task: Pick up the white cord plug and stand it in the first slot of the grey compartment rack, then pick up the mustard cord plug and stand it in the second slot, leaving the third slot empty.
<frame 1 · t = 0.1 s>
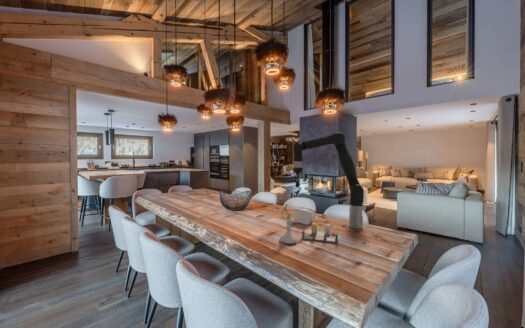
hand: (297, 186, 187), 29 cm above the table, fingers open, 8 cm apart
white tapered rounded piece: (288, 242, 144), on the table
plug mustard: (314, 233, 160), on the table
plug white: (327, 234, 159), on the table
grey compartment rack: (319, 240, 148), on the table
cable organizer: (304, 222, 186), on the table
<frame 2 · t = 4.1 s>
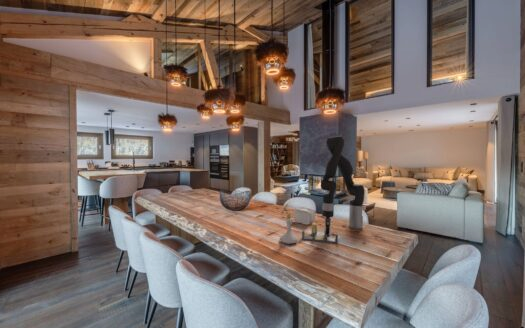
hand: (327, 233, 159), 1 cm above the table, fingers closed on plug white, 3 cm apart
plug white: (327, 234, 159), on the table, touching gripper
everything else where it was.
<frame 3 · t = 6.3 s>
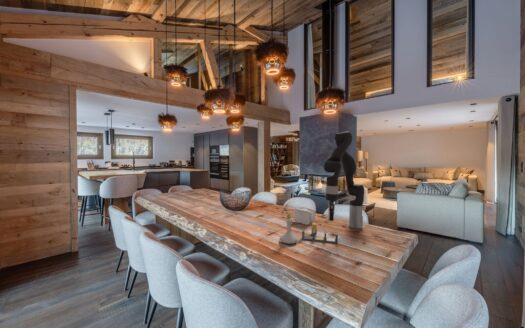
hand: (331, 219, 146), 14 cm above the table, fingers closed on plug white, 3 cm apart
plug white: (331, 220, 146), point 14 cm above the table, touching gripper
everything else where it was.
when the fingers open (3 cm above the table, at t = 8.5 s): plug white drops 1 cm, resting on grey compartment rack.
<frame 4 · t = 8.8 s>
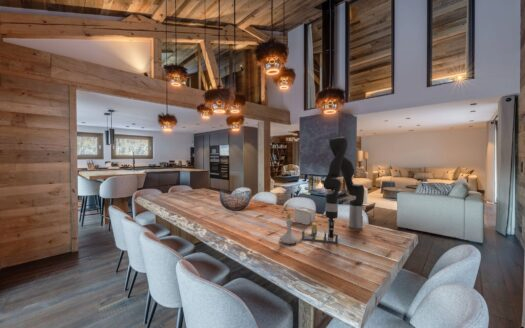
hand: (330, 235, 146), 4 cm above the table, fingers open, 6 cm apart
plug white: (330, 239, 147), point 1 cm above the table, touching grey compartment rack
everything else where it was.
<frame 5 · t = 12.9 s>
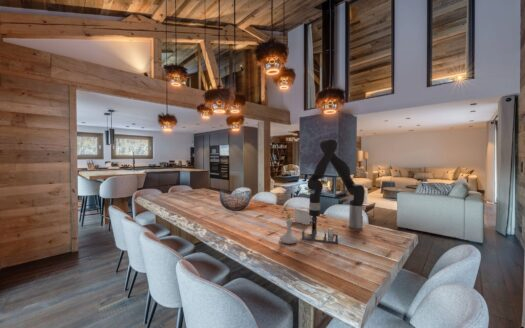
hand: (314, 232, 160), 1 cm above the table, fingers closed on plug mustard, 3 cm apart
plug mustard: (314, 233, 160), on the table, touching gripper
everything else where it was.
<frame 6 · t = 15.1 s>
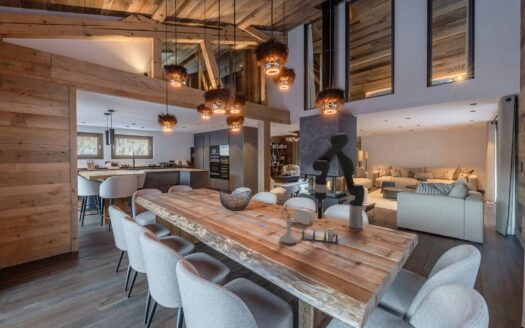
hand: (320, 217, 148), 15 cm above the table, fingers closed on plug mustard, 3 cm apart
plug mustard: (319, 218, 148), point 14 cm above the table, touching gripper
everything else where it was.
when the fingers open (3 cm above the table, at t = 17.5 s): plug mustard drops 1 cm, resting on grey compartment rack.
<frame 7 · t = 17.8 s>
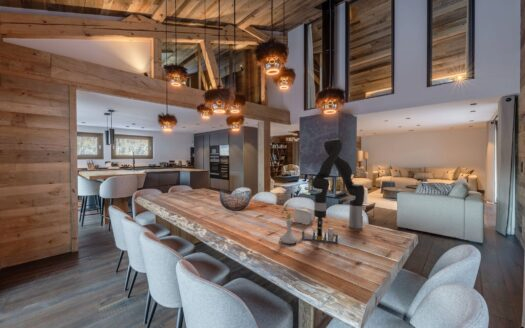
hand: (319, 234, 148), 4 cm above the table, fingers open, 6 cm apart
plug mustard: (319, 238, 148), point 1 cm above the table, touching grey compartment rack
everything else where it was.
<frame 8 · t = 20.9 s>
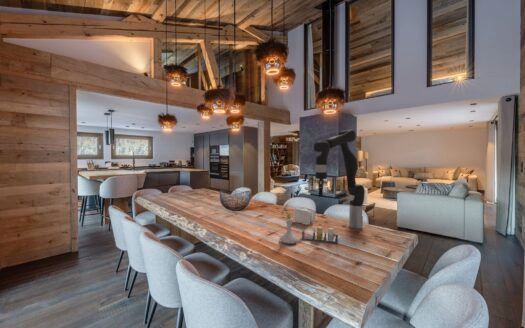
hand: (320, 195, 153), 28 cm above the table, fingers open, 8 cm apart
nothing on the table moved.
at the end: plug white 0.1 cm from the target spot on the grey compartment rack, point 1.1 cm above the grey compartment rack's base; plug mustard 0.0 cm off-centre on the grey compartment rack, point 1.1 cm above the grey compartment rack's base; plug mustard tilted 0° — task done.
